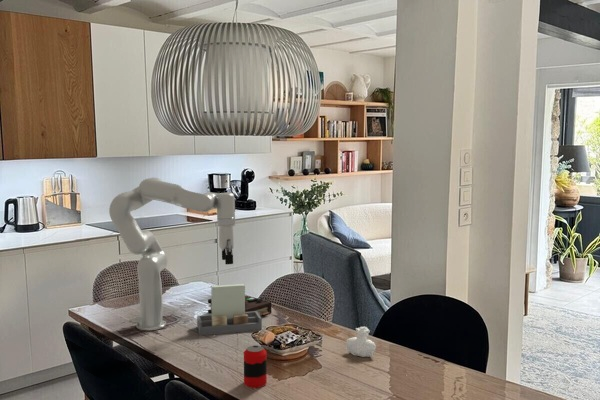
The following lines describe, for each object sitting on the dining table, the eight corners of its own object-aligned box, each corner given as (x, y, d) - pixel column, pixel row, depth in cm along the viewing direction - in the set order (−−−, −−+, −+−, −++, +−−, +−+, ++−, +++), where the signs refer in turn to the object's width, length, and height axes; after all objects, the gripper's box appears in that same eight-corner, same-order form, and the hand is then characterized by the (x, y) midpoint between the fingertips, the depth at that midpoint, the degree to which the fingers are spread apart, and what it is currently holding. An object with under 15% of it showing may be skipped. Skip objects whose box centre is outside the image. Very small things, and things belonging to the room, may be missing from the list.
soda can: (266, 378, 192) (266, 344, 191) (266, 388, 185) (266, 352, 184) (244, 378, 192) (244, 344, 191) (243, 388, 185) (243, 352, 183)
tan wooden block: (234, 330, 237) (234, 317, 237) (233, 328, 240) (232, 314, 240) (248, 329, 239) (248, 315, 238) (247, 327, 242) (246, 313, 241)
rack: (199, 337, 232) (199, 323, 232) (197, 329, 242) (197, 315, 242) (261, 332, 239) (261, 318, 238) (257, 324, 249) (256, 311, 249)
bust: (376, 362, 213) (383, 334, 218) (370, 355, 207) (377, 326, 212) (346, 356, 218) (354, 328, 223) (340, 349, 213) (348, 321, 218)
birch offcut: (212, 332, 235) (212, 318, 234) (211, 330, 238) (211, 316, 237) (226, 331, 237) (226, 317, 236) (226, 329, 240) (225, 315, 239)
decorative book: (233, 289, 280) (277, 300, 261) (233, 304, 281) (276, 316, 262) (202, 297, 266) (246, 310, 246) (202, 312, 267) (246, 326, 247)
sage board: (212, 328, 240) (212, 287, 238) (211, 326, 242) (211, 285, 241) (245, 326, 244) (244, 285, 242) (244, 324, 246) (243, 283, 244)
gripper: (214, 219, 246) (216, 258, 248) (220, 225, 230) (221, 266, 231) (231, 219, 248) (233, 257, 250) (238, 224, 232) (239, 265, 234)
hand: (227, 261), depth 241 cm, fingers open, 9 cm apart
